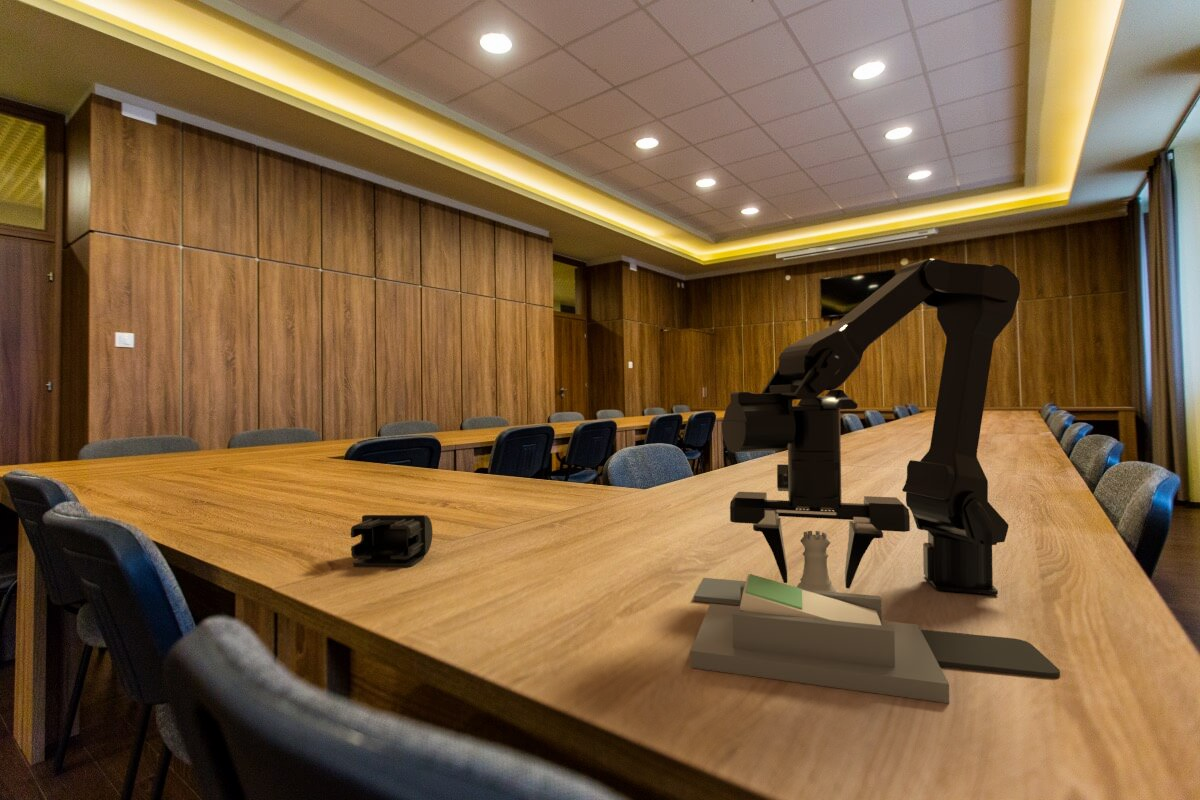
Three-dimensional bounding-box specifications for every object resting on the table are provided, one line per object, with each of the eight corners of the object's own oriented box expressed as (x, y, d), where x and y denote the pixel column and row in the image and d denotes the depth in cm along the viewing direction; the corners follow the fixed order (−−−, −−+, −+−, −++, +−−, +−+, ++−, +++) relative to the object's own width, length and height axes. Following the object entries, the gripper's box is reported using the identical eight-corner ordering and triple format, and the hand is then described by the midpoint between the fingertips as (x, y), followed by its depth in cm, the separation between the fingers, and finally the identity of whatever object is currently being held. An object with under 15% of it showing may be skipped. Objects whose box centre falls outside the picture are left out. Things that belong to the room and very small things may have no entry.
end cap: (433, 554, 89) (432, 511, 89) (414, 568, 82) (413, 521, 82) (372, 553, 90) (372, 511, 90) (348, 567, 83) (347, 521, 83)
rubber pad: (759, 587, 71) (759, 582, 71) (755, 607, 65) (755, 601, 65) (703, 582, 74) (703, 577, 74) (694, 600, 67) (694, 595, 67)
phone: (1066, 675, 47) (869, 654, 51) (1066, 685, 47) (869, 663, 51) (1026, 639, 54) (856, 622, 59) (1026, 647, 54) (856, 630, 59)
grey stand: (917, 640, 55) (917, 593, 55) (949, 703, 44) (948, 645, 44) (710, 617, 62) (709, 576, 62) (691, 667, 51) (690, 616, 51)
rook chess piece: (843, 609, 64) (842, 537, 64) (803, 609, 64) (802, 538, 64) (828, 595, 68) (827, 528, 68) (790, 595, 68) (789, 529, 68)
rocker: (872, 626, 54) (876, 608, 54) (881, 653, 48) (886, 634, 48) (744, 588, 58) (748, 572, 58) (739, 609, 52) (743, 591, 52)
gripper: (892, 444, 70) (894, 570, 70) (737, 443, 76) (739, 559, 77) (909, 453, 60) (911, 602, 60) (728, 451, 66) (730, 585, 66)
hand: (816, 584), depth 66 cm, fingers open, 6 cm apart
